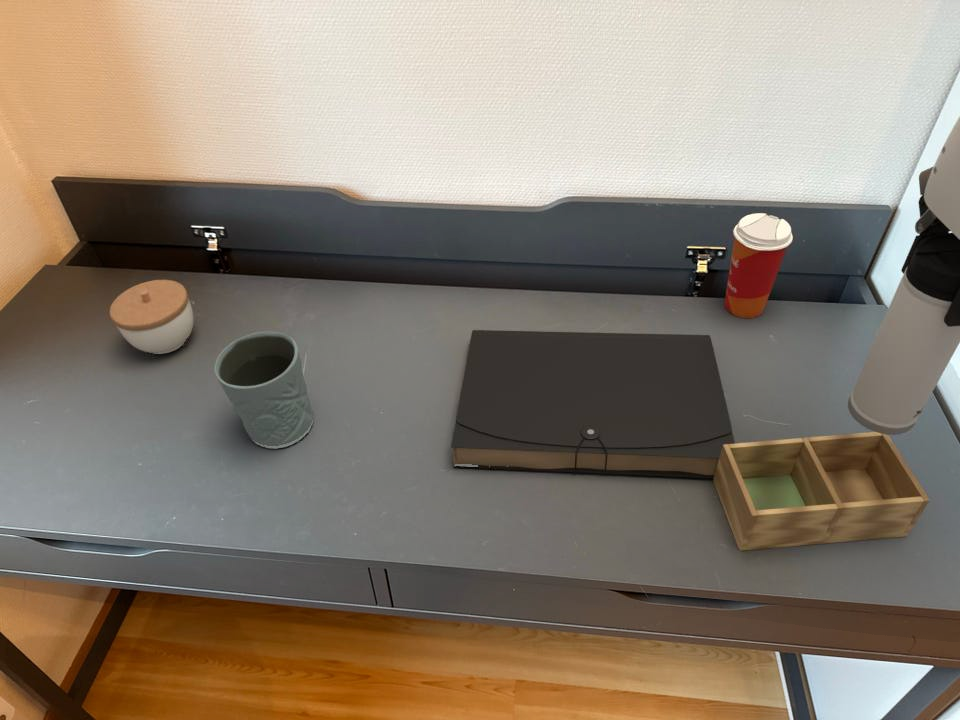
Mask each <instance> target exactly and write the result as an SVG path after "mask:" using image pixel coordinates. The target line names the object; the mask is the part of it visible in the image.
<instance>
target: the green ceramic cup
mask: <svg viewBox="0 0 960 720" xmlns="http://www.w3.org/2000/svg"><path fill="white" fill-rule="evenodd" d="M302 366H303V365H302V361H301V356H300V351H299V347H298V344H297V343H296V341H295V340H294V339H293V338H292V337H291V336H289V335H288V334H285V333H282V332H278V331H259V332H254V333H249V334H246V335H245V336H242V337H239V338H237V339H235V340H234V341H232V342H231V343H229V344H228V345H227V346H225V348H223V349H222V351H220V353H219V354H218V356H217V357H216V360H215V364H214V367H213V369H214V375H215V377H216V379H217V381H218V383H219V384H220V387H222V389H223V391H224V393H225V394H226V396H227V398H228V400H229V402H230V403H231V404H232V405H233V406H234V409H235V412H236V413H237V414H238V416H239V418H240V420H241V422H242V425H243V427H244V429H245V431H246V433H247V435H248V436H249V438H250V437H251V438H250V440H251V439H252V440H254V441H255V442H257V443H259V444H262V445H267V446H279V445H283V444H287V443H290V442H292V441H294V440H296V439H298V438H299V437H300V436H302V435H303V434H304V433H305V432H306V431H307V430H308V428H309V427H310V425H311V423H312V420H313V414H314V410H313V406H312V402H311V400H310V396H309V394H308V393H309V392H308V389H307V388H308V387H307V384H306V380H305V377H304V376H305V375H304V373H303V369H302V368H303V367H302ZM252 440H251V441H252Z"/></svg>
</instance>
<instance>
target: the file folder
mask: <svg viewBox="0 0 960 720" xmlns="http://www.w3.org/2000/svg"><path fill="white" fill-rule="evenodd" d="M466 356H467V357H466V361H465V367H464V373H463V379H462V384H461V389H460V395H459V398H458V399H459V400H458V405H457V411H456V417H455V423H454V429H453V435H452V440H451V445H450V448H451V454H452V461H453V465H455V464H472V465H478V467H477V468H476V469H489V470H491V469H490V468H493V469H492V470H511V471H516V470H517V471H535V472H536V471H537V472H558V473H574V475H576V474H577V473H580V474H600V475H602V474H603V475H604V476H606V475H625V476H626V475H627V476H648V477H670V478H671V477H672V478H693V479H696V478H697V479H714V475H715V472H716V468H717V465H718V461H719V457H720V454H721V450H722V447H723V444H736V441H735V437H734V433H733V427H732V423H731V418H730V413H729V409H728V405H727V400H726V397H725V392H724V389H723V384H722V379H721V376H720V372H719V371H720V370H719V367H718V362H717V358H716V354H715V350H714V346H713V340H712V338H711V335H710V334H680V333H679V334H676V333H675V334H673V333H632V332H631V333H627V332H625V333H624V332H622V333H621V332H585V331H583V332H582V331H581V332H580V331H579V332H578V331H540V330H539V331H536V330H535V331H534V330H533V331H532V330H494V329H493V330H490V329H487V330H486V329H472V330H471V334H470V340H469V346H468V351H467V355H466ZM489 466H490V467H489ZM507 466H508V467H507Z"/></svg>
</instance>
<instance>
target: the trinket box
mask: <svg viewBox="0 0 960 720" xmlns="http://www.w3.org/2000/svg"><path fill="white" fill-rule="evenodd" d="M109 316H110V319H111V321H112V322H113V324H114V326H115V327H116V328H117V330H118V331H119V333H120V334H121V336H122V337H123V339H125V341H127V343H129V345H131V346H132V347H134V348H135V349H137V350H139V351H141V352H144V353H148V352H149V354H151V353H158V352H164V351H168V350H171V349H173V348H175V347H177V346H179V345H180V344H182V343H183V342H184V341H185V340H186V339H187V338H188V339H189V337H190V335H191V334H192V331H193V328H194V323H195V322H194V321H195V317H194V310H193V307H192V303H191V301H190V299H189V294H188V291H187V289H186V288H185V286H184V285H182V284H181V283H180V282H178V281H175V280H171V279H154V280H149V281H145V282H141V283H139V284H136V285H134V286H132V287H129V288H128V289H126V290H125V291H122V292H121V293H120V294H119V295H118V296H117V297H116V298H115V299H114V301H112V304H111V305H110V307H109ZM188 339H187V340H188Z"/></svg>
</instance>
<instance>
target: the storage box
mask: <svg viewBox="0 0 960 720" xmlns="http://www.w3.org/2000/svg"><path fill="white" fill-rule="evenodd" d="M712 479H713V480H712V482H713V485H714V487H715V489H716V492H717V495H718V498H719V499H720V503H721V506H722V509H723V511H724V514H725V516H726V519H727V522H728V524H729V527H730V529H731V532H732V535H733V538H734V540H735V543H736V546H737V548H738V551H739V552H741V551H753V550H766V549H777V548H788V547H789V548H790V547H799V546H800V547H801V546H810V545H823V544H835V543H847V542H857V541H858V542H859V541H871V540H880V539H881V540H882V539H893V538H894V539H895V538H905V537H908V536H909V534H910V533H911V531H912V529H913V527H914V526H915V525H916V523H917V521H918V520H919V518H920V517H921V515H922V514H923V512H924V511H925V509H926V507H927V506H928V504H929V503H930V501H931V500H930V497H929V496H928V495H927V493H926V492H925V490H924V489H923V487H922V485H921V484H920V482H919V481H918V479H917V478H916V476H915V474H914V473H913V472H912V470H911V469H910V467H909V465H908V463H907V462H906V461H905V459H904V458H903V456H902V454H901V453H900V451H899V450H898V447H896V445H895V443H894V441H892V439H891V437H890V436H889V435H887V434H881V433H878V432H874V431H868V432H857V433H856V432H855V433H844V434H843V433H842V434H832V435H822V436H821V435H820V436H808V437H797V438H795V437H794V438H784V439H773V440H772V439H771V440H761V441H750V442H738V443H736V442H735V444H723V447H722V450H721V454H720V457H719V461H718V465H717V468H716V472H715V475H714V478H712Z"/></svg>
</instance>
